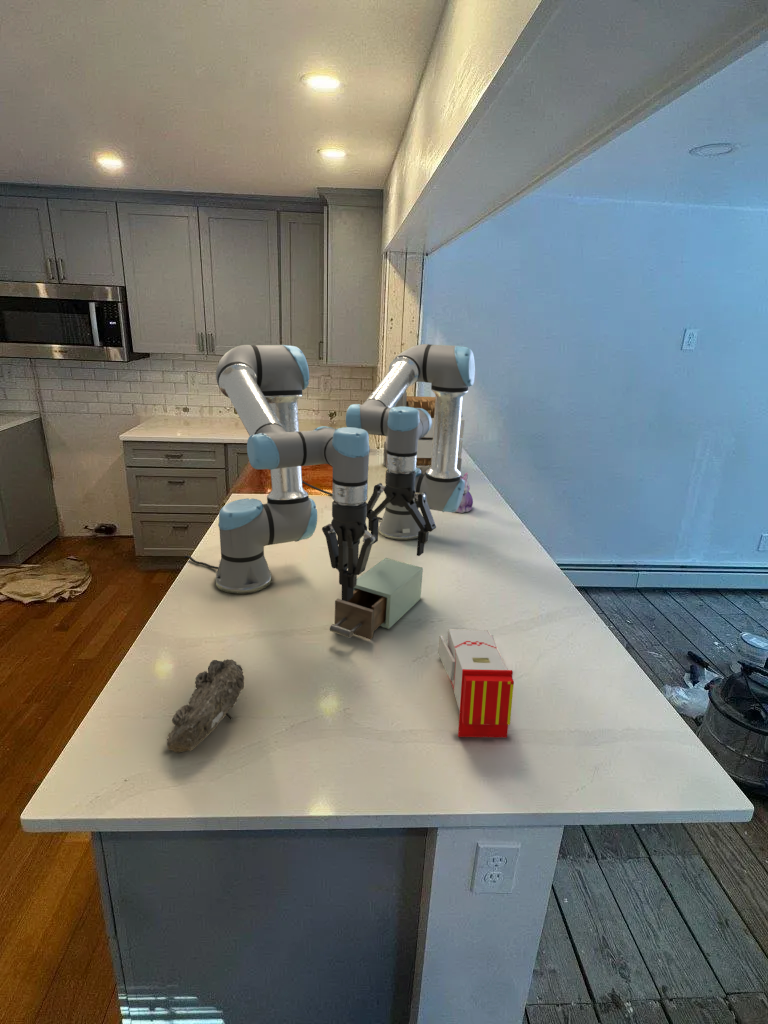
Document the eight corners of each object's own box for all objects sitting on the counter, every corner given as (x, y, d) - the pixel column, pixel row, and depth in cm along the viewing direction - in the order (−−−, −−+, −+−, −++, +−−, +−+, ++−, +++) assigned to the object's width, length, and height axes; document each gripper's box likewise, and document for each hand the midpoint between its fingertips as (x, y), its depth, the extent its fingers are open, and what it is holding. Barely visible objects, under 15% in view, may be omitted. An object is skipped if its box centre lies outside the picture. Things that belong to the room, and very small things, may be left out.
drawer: (358, 651, 129) (358, 623, 126) (320, 638, 133) (321, 610, 131) (403, 609, 148) (405, 583, 145) (369, 599, 152) (370, 573, 150)
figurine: (459, 514, 221) (463, 477, 216) (445, 506, 229) (448, 470, 224) (479, 511, 225) (483, 475, 220) (464, 503, 234) (467, 468, 228)
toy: (488, 613, 130) (523, 677, 101) (484, 667, 133) (517, 744, 104) (435, 612, 130) (455, 676, 101) (432, 666, 133) (451, 743, 103)
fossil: (192, 660, 117) (244, 628, 112) (224, 691, 120) (276, 661, 115) (142, 746, 98) (202, 712, 93) (182, 779, 101) (242, 748, 96)
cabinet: (388, 629, 140) (390, 595, 137) (349, 616, 145) (350, 583, 142) (420, 598, 156) (422, 567, 152) (384, 588, 161) (385, 557, 157)
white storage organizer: (382, 463, 289) (386, 382, 275) (445, 464, 293) (451, 384, 279) (390, 482, 257) (394, 392, 243) (460, 483, 261) (468, 394, 247)
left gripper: (314, 499, 122) (314, 597, 130) (367, 511, 116) (363, 613, 124) (333, 491, 128) (332, 584, 136) (384, 501, 122) (380, 599, 130)
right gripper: (350, 465, 144) (348, 542, 151) (441, 482, 133) (434, 564, 140) (365, 459, 150) (362, 533, 157) (453, 475, 139) (446, 554, 146)
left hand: (347, 598), depth 130 cm, fingers closed
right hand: (396, 548), depth 149 cm, fingers open, 13 cm apart
